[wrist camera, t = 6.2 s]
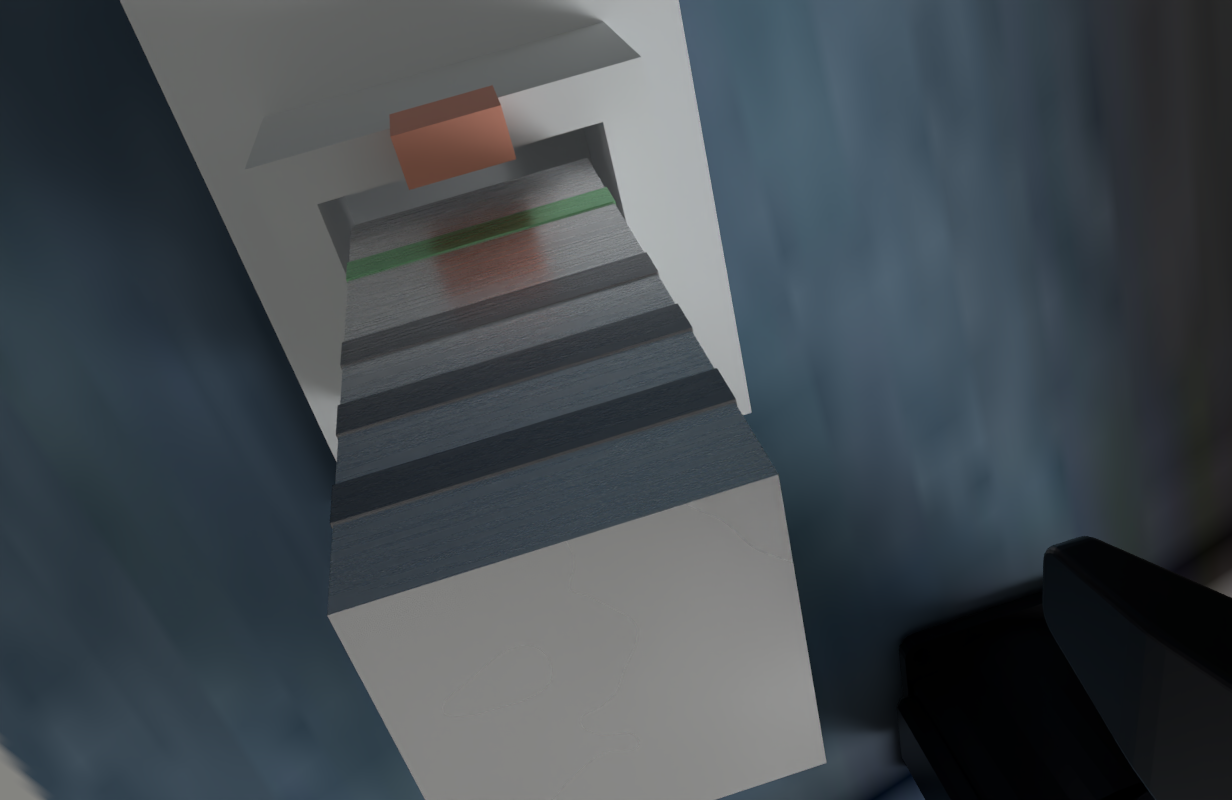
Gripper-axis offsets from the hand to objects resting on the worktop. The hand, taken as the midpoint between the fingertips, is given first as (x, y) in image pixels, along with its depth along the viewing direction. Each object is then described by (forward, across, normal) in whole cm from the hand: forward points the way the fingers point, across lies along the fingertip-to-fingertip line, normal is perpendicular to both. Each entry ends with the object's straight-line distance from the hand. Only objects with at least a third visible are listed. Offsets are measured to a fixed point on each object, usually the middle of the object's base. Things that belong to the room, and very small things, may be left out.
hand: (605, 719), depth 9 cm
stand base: (+13, 0, 0) cm, 13 cm away
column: (+9, 0, 0) cm, 9 cm away
